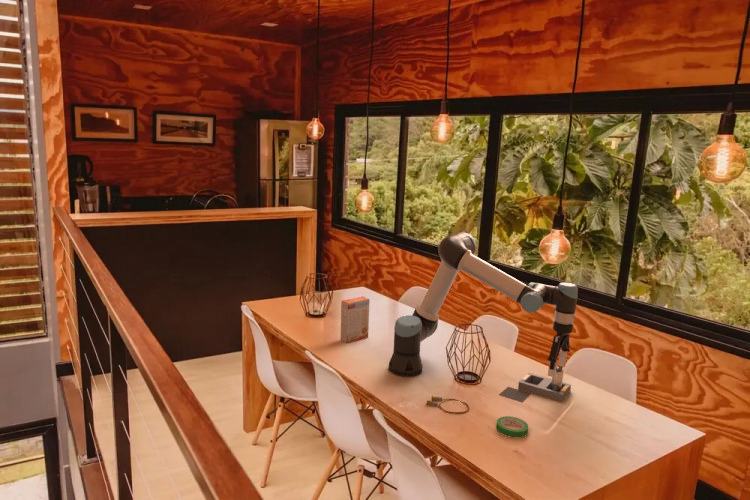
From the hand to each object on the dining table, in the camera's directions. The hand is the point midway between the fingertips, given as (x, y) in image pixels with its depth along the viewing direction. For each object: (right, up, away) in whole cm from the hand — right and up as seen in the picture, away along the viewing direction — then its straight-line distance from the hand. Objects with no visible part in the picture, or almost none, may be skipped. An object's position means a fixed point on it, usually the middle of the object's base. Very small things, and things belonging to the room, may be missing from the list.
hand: (556, 371), depth 226 cm
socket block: (-4, -10, +4) cm, 11 cm away
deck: (-17, -10, -1) cm, 20 cm away
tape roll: (-25, -16, -27) cm, 40 cm away
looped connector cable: (-45, -12, -11) cm, 48 cm away
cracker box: (-85, +4, +55) cm, 101 cm away
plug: (0, -9, +2) cm, 10 cm away
